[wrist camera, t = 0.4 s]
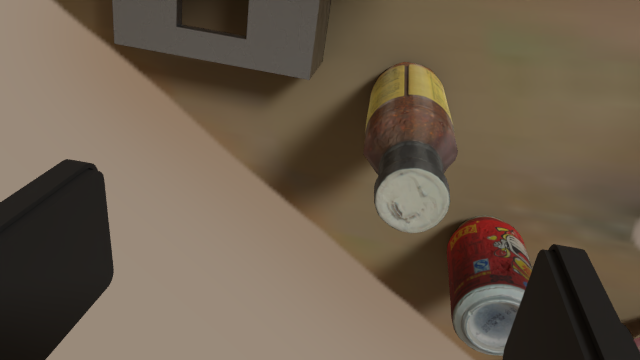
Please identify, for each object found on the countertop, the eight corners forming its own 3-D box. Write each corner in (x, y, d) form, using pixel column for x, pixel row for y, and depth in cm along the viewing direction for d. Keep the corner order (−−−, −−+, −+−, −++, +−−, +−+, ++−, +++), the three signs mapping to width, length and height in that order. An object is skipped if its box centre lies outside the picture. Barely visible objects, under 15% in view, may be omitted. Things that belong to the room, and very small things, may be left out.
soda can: (538, 236, 49) (570, 325, 38) (487, 282, 52) (503, 376, 42) (479, 195, 48) (494, 274, 37) (431, 244, 52) (432, 330, 41)
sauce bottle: (372, 128, 47) (344, 250, 30) (371, 59, 44) (338, 149, 27) (446, 127, 46) (462, 255, 28) (449, 57, 43) (468, 150, 26)
